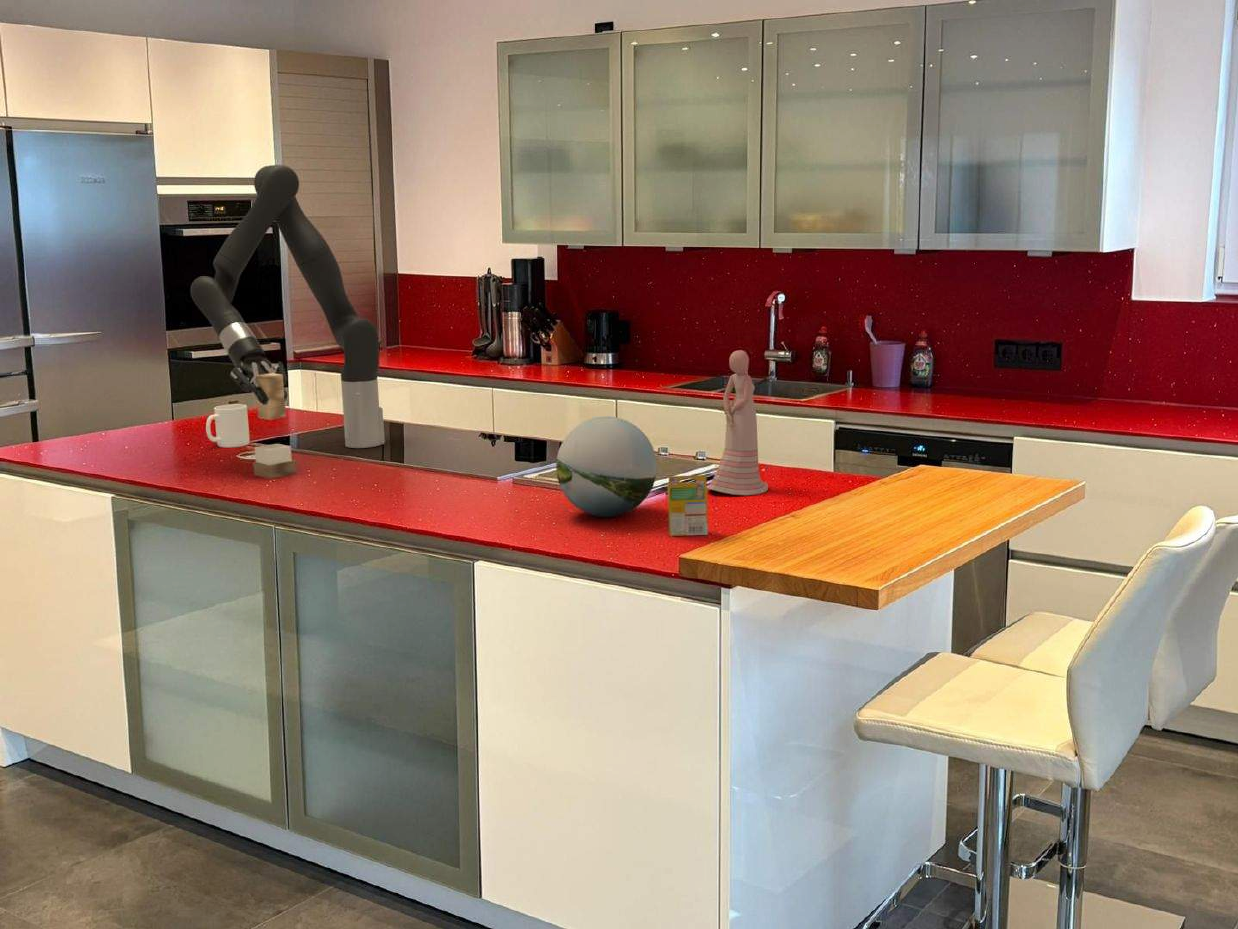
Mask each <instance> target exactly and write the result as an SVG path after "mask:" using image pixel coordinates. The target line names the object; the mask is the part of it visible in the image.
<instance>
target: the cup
mask: <svg viewBox="0 0 1238 929" xmlns="http://www.w3.org/2000/svg"><path fill="white" fill-rule="evenodd" d="M213 411H214V412H213V413H214V414H211V415H209V416H208V417H207V419H206V424H205V431H206V436H207V438H208V439H209V441H211V442H214V443H217V446H218V447H220V448H230V449H231V448H240V447H246V446H248V445H249V444H250V442H251V441H250V431H249V419H248V418H249V417H248V406H247V405H246V404H238V403H237V404H235V403H233V404H224V405H217V406H215V407H214V408H213ZM213 420H214V424H215V433H216V435H215V436H213V435H212V432H211V424H212V421H213Z"/></svg>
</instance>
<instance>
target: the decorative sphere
mask: <svg viewBox="0 0 1238 929" xmlns="http://www.w3.org/2000/svg"><path fill="white" fill-rule="evenodd" d="M657 463H658V462H657V457H656V452H655V450H654V447H653V445H652V442H651V441H650V439H649V438H648V437H647V435H646V434H645V433H644V432H643V431H642V430H641V429H640V428H639V427H637V425H635V424H634V423H632V422H630V421H628V420H626V419H623V418H620V417H616V416H598V417H593V418H590V419H588V420H585V421H583V422H581V423H579V424H578V425H577V426H575V427H574V428H573V429H571V431H569V433H567V435H566V436H565V438H564V439H563V440H562V442H561V445H560V447H559V449H558V452H557V457H556V462H555V464H556V465H555V467H556V478H557V482H558V484H559V487H560V489H561V491H562V493H563V494H564V497H566V498H567V500H568V501H569V502H570V503H571V504H572V505H573V506H574V507H576V508H577V509H578V510H580V511H582V512H584V513H585V514H588V515H592V516H595V517H600V518H612V517H613V518H614V517H619V516H623V515H625V514H628V513H630V512H632V511H633V510H635V509H636V508H637V507H639V506H640V505H641V504H642V503H643V502H644V501H645V500H646V499H647V497H648V496H649V494H650V493H651V491H652V489H653V487H654V483H655V482H656V477H657V470H658V464H657Z"/></svg>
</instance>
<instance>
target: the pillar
mask: <svg viewBox="0 0 1238 929" xmlns="http://www.w3.org/2000/svg"><path fill="white" fill-rule="evenodd" d="M257 380H258V382H259V383H260V387H262V389H263V390H264V392H265V393H266V395H267V397H268V398H269V401H268V402H267V404H266V405H263V404H262V403H260V402H259V400H258V399H257V398H256V405H257V418H258V419H262V420H263V419H264V420H268V421H271V420H276V419H281V418H286V405H285V404H286V400H285V399H284V389H285V387H284V386H285V385H284V386H283V375H282V374H274V373H272V374H262V375H258V376H257Z"/></svg>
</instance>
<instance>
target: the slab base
mask: <svg viewBox="0 0 1238 929" xmlns="http://www.w3.org/2000/svg"><path fill="white" fill-rule="evenodd" d="M252 464H253V465H252V466H253V475H254V476H257V477H261V478H265V479H268V480H269V479H271V480H272V479H278V478H281V477H282V478H283V477H287V476H292V475H296V474H297V473H298V472H297V461H296V460H295V459H292V461H290V462H284V463H279V464H273V465H266V464H262V463H258V462H256V461H253V462H252Z"/></svg>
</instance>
